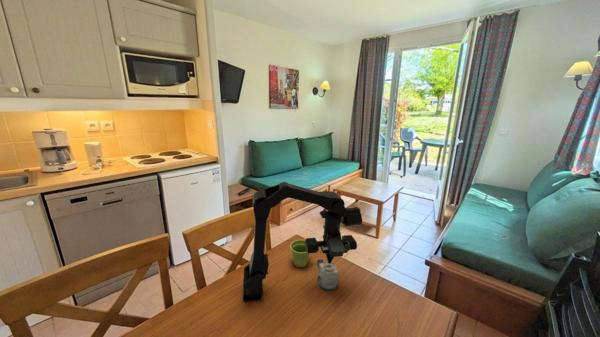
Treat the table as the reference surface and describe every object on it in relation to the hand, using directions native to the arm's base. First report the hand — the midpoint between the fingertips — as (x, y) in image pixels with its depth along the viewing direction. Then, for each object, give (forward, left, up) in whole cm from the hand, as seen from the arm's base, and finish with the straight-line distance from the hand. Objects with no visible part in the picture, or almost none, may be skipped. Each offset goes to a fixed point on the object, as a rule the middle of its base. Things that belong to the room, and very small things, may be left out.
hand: (329, 262), depth 91 cm
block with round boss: (0, 0, -8) cm, 8 cm away
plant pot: (-8, +13, -10) cm, 19 cm away
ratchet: (0, +4, -10) cm, 11 cm away
